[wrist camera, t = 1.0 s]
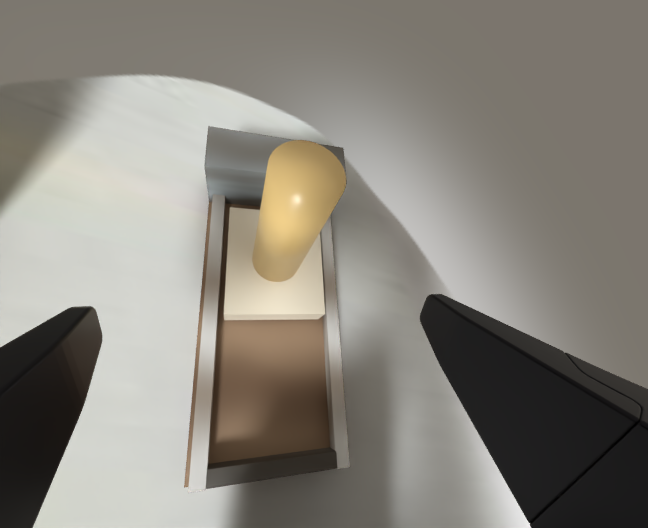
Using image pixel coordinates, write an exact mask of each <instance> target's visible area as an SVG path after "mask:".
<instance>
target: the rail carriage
mask: <svg viewBox="0 0 648 528" xmlns="http://www.w3.org/2000/svg"><path fill="white" fill-rule="evenodd" d="M345 187H346V174H345V171H344V168H343V166H342V164H341V162H340V161H339V160H338V158H337V157H336V156H335V155H334V154H333V153H332V152H331V151H329V150H328V149H326V148H325V147H323V146H321V145H319V144H317V143H314V142H310V141H304V140H294V141H289V142H286V143H283V144H281V145H280V146H278V147H277V148H276V149H275V150H274V151H273V152H272V154H271V155H270V157H269V160H268V165H267V171H266V177H265V183H264V189H263V195H262V201H261V207H260V210H255V209H244V208H233V207H230V214H229V231H228V248H227V266H226V283H225V300H224V320H303V319H319V318H320V317H322V316H323V315H324V314H325V304H324V288H323V272H322V256H321V240H320V231H321V230H322V228H323V226H324V225H325V223H326V221H327V219H328V218H329V216H330V214H331V213H332V211H333V209H334V208H335V206H336V204H337V203H338V201H339V199H340V197H341V196H342V194H343V192H344V190H345Z"/></svg>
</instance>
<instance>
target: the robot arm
mask: <svg viewBox="0 0 648 528" xmlns="http://www.w3.org/2000/svg"><path fill="white" fill-rule="evenodd" d="M420 322H421V324H422V326H423V329H424V331H425V333H426V335H427V338H428V340H429V342H430V344H431V347H432V349H433V351H434V353H435V356H436V358H437V360H438V362H439V364H440V366H441V368H442V370H443V371H444V373H445V375H446V377H447V379H448V380H449V382H450V384H451V386H452V387H453V389H454V391H455V393H456V394H457V396H458V398H459V400H460V402H461V403H462V405H463V407H464V409H465V410H466V412H467V414H468V416H469V417H470V419H471V421H472V423H473V425H474V426H475V428H476V430H477V432H478V433H479V435H480V437H481V439H482V441H483V442H484V444H485V446H486V448H487V449H488V451H489V453H490V455H491V456H492V458H493V460H494V462H495V464H496V465H497V467H498V469H499V471H500V472H501V474H502V476H503V478H504V480H505V481H506V483H507V485H508V487H509V488H510V490H511V492H512V494H513V495H514V497H515V499H516V501H517V503H518V504H519V506H520V508H521V510H522V511H523V513H524V515H525V517H526V518H527V520H528V522H529V523H530V526H531V528H648V389H646V388H644V387H642V386H639V385H637V384H635V383H632V382H630V381H628V380H625V379H623V378H621V377H619V376H616V375H614V374H612V373H610V372H607V371H605V370H603V369H601V368H598V367H596V366H594V365H592V364H590V363H587V362H585V361H583V360H581V359H579V358H576V357H574V356H572V355H570V354H568V353H564V352H563V351H561V350H559V349H557V348H555V347H553V346H551V345H549V344H546V343H544V342H542V341H540V340H538V339H536V338H534V337H532V336H530V335H527V334H525V333H523V332H521V331H519V330H517V329H515V328H513V327H511V326H508V325H506V324H504V323H502V322H500V321H498V320H495V319H493V318H491V317H489V316H487V315H485V314H483V313H481V312H479V311H476V310H474V309H472V308H470V307H468V306H466V305H464V304H462V303H459V302H457V301H455V300H453V299H451V298H449V297H447V296H445V295H442V294H431V295H429V296H428V297H427V298H426V301H425V303H424V306H423V308H422V311H421V314H420ZM101 344H102V331H101V328H100V324H99V320H98V316H97V313H96V310H95V309H94V308H93V307H91V306H83V307H71V308H68V309H67V310H65V311H63V312H61V313H60V314H58V315H56V316H54V317H53V318H51V319H49V320H47V321H46V322H44V323H42V324H40V325H39V326H37V327H35V328H33V329H32V330H30V331H28V332H26V333H25V334H23V335H21V336H19V337H18V338H16V339H14V340H12V341H11V342H9V343H7V344H5V345H4V346H2V347H0V528H33V525H34V523H35V521H36V518H37V516H38V514H39V511H40V509H41V507H42V504H43V502H44V499H45V497H46V495H47V492H48V490H49V488H50V485H51V483H52V480H53V478H54V476H55V473H56V471H57V469H58V466H59V464H60V461H61V459H62V457H63V454H64V452H65V450H66V447H67V445H68V443H69V440H70V438H71V435H72V433H73V431H74V428H75V426H76V424H77V421H78V419H79V416H80V414H81V411H82V409H83V406H84V403H85V400H86V397H87V393H88V390H89V386H90V383H91V379H92V376H93V372H94V369H95V365H96V362H97V358H98V355H99V351H100V348H101Z"/></svg>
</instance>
